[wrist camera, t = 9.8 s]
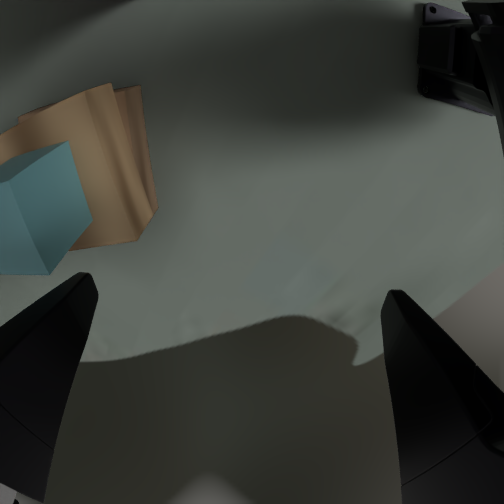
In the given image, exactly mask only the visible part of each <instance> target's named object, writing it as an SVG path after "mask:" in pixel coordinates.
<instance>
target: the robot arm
mask: <svg viewBox="0 0 504 504" xmlns="http://www.w3.org/2000/svg"><path fill="white" fill-rule="evenodd" d="M462 4H463V7H464V9H465V11H466V12H468V14H469V16H470V17H469V16H467V15H464V14H462V13H459V12H457V11H454V10H452V9H449V8H446V7H443V6H440V5H438V4H435V3H426V4H425V5H424V6H423V26H422V27H420V29H419V46H418V59H417V63H418V65H419V67H420V69H419V79H418V92H419V94H420V95H422V96H424V97H426V98H431V99H435V100H439V101H443V102H446V103H450V104H454V105H457V106H461V107H464V108H467V109H471V110H474V111H477V112H480V113H483V114H486V115H489V116H496V120H497V124H498V129H499V134H500V139H501V144H502V149H503V155H504V0H468V1H464V2H462ZM430 7H432V8H433V10H434V12H433V13H431V12H430V10H429V8H430ZM425 86H427V88H428V91H427V92H426V93H425V92H424V90H423V89H424V87H425ZM97 302H98V291H97V288H96V285H95V283H94V280H93V277H92V275H91V274H90V273H85V272H79V273H77V274H75V275H74V276H72V277H71V278H69V279H68V280H66V281H65V282H63V283H62V284H60V285H59V286H57V287H56V288H54V289H53V290H51V291H50V292H48V293H47V294H45V295H44V296H43V297H41V298H40V299H38V300H37V301H35V302H34V303H33V304H31V305H30V306H28V307H27V308H26V309H24V310H23V311H21V312H20V313H19V314H17V315H16V316H14V317H13V318H12V319H10V320H9V321H8V322H6V323H5V324H4V325H2V326H1V327H0V504H19V502H18V501H17V500H16V499H15V495H16V492H19V493H21V494H23V495H25V496H28V497H30V498H32V499H35V500H37V501H39V502H41V503H43V502H44V499H45V493H46V487H47V482H48V477H49V472H50V467H51V462H52V458H53V454H54V448H55V444H56V440H57V436H58V432H59V428H60V425H61V421H62V417H63V414H64V409H65V406H66V403H67V400H68V396H69V393H70V389H71V387H72V383H73V380H74V377H75V374H76V371H77V368H78V365H79V362H80V359H81V356H82V353H83V350H84V348H85V345H86V342H87V339H88V335H89V331H90V327H91V324H92V320H93V316H94V312H95V309H96V305H97ZM381 325H382V336H383V348H384V359H385V366H386V372H387V377H388V383H389V389H390V395H391V402H392V408H393V415H394V422H395V430H396V438H397V446H398V456H399V466H400V478H401V485H402V486H401V494H402V504H504V393H503V392H502V391H501V390H500V389H499V388H498V387H497V386H496V385H495V384H494V383H493V381H492V380H491V379H490V378H489V377H488V376H487V375H486V374H485V373H484V372H483V371H482V370H481V369H480V368H479V366H476V363H475V362H474V361H473V360H472V359H471V358H470V357H469V356H468V355H467V354H466V353H465V352H464V351H463V350H462V348H460V346H459V345H458V344H457V343H456V342H455V341H454V340H453V339H452V338H451V337H450V336H449V335H448V334H447V333H446V332H445V331H444V330H443V329H442V328H441V327H440V326H439V325H438V324H437V323H436V322H435V321H434V320H433V319H432V318H431V317H430V316H429V315H428V314H427V313H426V312H425V311H424V310H423V309H422V308H421V307H420V306H419V305H418V304H417V303H416V302H415V301H414V300H413V299H412V298H411V297H409V296H408V295H407V294H406V293H405V292H404V291H403V290H389V291H388V293H387V296H386V298H385V301H384V304H383V306H382V309H381Z"/></svg>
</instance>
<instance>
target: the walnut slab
mask: <svg viewBox="0 0 504 504" xmlns="http://www.w3.org/2000/svg"><path fill="white" fill-rule="evenodd" d="M113 91H114V95H115V98H116V102H117V105H118V109H119V112H120V116H121V119H122V122H123V126H124V129H125V132H126V136H127V139H128V142H129V145H130V148H131V151H132V154H133V158H134V161H135V164H136V167H137V170H138V173H139V176H140V178H141V181H142V184H143V187H144V190H145V193H146V196H147V199H148V201H149V204H150V207H151V210H152V212H153V215H154V214H155V212H156V210H157V209H158V203H157V198H156V192H155V186H154V181H153V175H152V168H151V162H150V156H149V149H148V142H147V135H146V128H145V120H144V112H143V104H142V95H141V85H137V86H131V87H125V88H120V89H114V90H113ZM58 103H59V102H58ZM55 104H57V103H54V104H51V105H47V106H44V107H41V108H37V109H35V110H33V111H30V112H28V113H26V114H24V115H22V116H19V117H18V122H19V123H21V122H23V121H25V120H27V119H28V118H30V117H32V116H34V115H36V114H37V113H39V112H41V111H43V110H45V109H47V108H49V107H51V106H53V105H55ZM152 217H153V216H152ZM147 225H148V224H147Z"/></svg>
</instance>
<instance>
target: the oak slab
mask: <svg viewBox="0 0 504 504" xmlns="http://www.w3.org/2000/svg"><path fill="white" fill-rule="evenodd" d="M64 141H69V145H70V149H71V152H72V156H73V159H74V163H75V166H76V170H77V173H78V176H79V179H80V183H81V186H82V189H83V192H84V195H85V198H86V201H87V204H88V207H89V210H90V213H91V216H92V219H93V221H92V222H91V223H90V225H89V226H88V227H87V228H86V229H85V231H84V232H83V233H82V234H81V235H80V237H79V238H78V239H77V240H76V242H75V243H74V244H73V245H72V247H71V248H70V249H69V250H68V251H73V250H79V249H86V248H92V247H99V246H106V245H112V244H119V243H126V242H133V241H137V240H138V239H139V237H140V235H141V234H142V232H143V231H144V229H145V227H146V226H147V224H148V223H149V221H150V220H151V218H152V216H153V212H152V210H151V207H150V204H149V201H148V199H147V196H146V193H145V190H144V187H143V184H142V181H141V178H140V176H139V173H138V170H137V167H136V164H135V161H134V158H133V154H132V151H131V148H130V145H129V142H128V139H127V136H126V132H125V129H124V126H123V122H122V119H121V116H120V112H119V109H118V105H117V102H116V98H115V95H114V91H113V88H112V84H111V83H107V84H104V85H101V86H98V87H94V88H91V89H88V90H85V91H83V92H81V93H78V94H76V95H74V96H72V97H70V98H67V99H65V100H63V101H61V102H59V103H57V104H55V105H53V106H51V107H49V108H47V109H45V110H43V111H41V112H39V113H37V114H36V115H34V116H32V117H30V118H28V119H27V120H25V121H23V122H21V123H19V124H18V125H16V126H14V127H13V128H11V129H9V130H8V131H6V132H4V133H3V134H1V135H0V165H2V164H3V163H5V162H6V161H8V160H9V159H11V158H13V157H16V156H18V155H21V154H25V153H28V152H31V151H34V150H37V149H40V148H44V147H47V146H50V145H54V144H57V143H61V142H64Z"/></svg>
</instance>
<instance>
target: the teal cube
mask: <svg viewBox="0 0 504 504" xmlns="http://www.w3.org/2000/svg"><path fill="white" fill-rule="evenodd" d="M92 221H93V219H92V216H91V213H90V210H89V207H88V204H87V201H86V198H85V195H84V192H83V189H82V186H81V183H80V179H79V176H78V173H77V170H76V166H75V163H74V159H73V156H72V152H71V149H70V145H69V141H64V142H61V143H57V144H54V145H50V146H47V147H44V148H40V149H37V150H34V151H31V152H28V153H25V154H21V155H18V156H16V157H13V158H11V159H9V160H8V161H6V162H5V163H3V164H2V165H0V274H13V275H50V274H51V273H52V271H53V270H54V269H55V267H56V266H57V265H58V263H59V262H60V261H61V259H62V258H63V257H64V255H65V254H66V253H67V252H68V250H69V249H70V248H71V247H72V245H73V244H74V243H75V242H76V240H77V239H78V238H79V237H80V235H81V234H82V233H83V232H84V231H85V229H86V228H87V227H88V226H89V225H90V223H91V222H92Z"/></svg>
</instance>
